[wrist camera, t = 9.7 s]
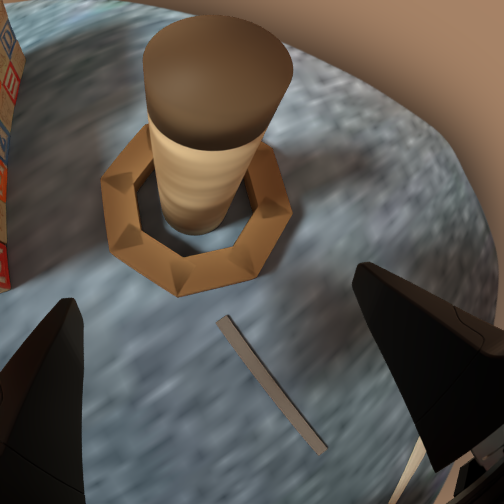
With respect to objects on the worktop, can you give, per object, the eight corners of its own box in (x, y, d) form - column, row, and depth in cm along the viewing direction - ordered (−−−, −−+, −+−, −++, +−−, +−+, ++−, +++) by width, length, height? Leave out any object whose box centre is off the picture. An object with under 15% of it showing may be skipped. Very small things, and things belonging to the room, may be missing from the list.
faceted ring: (298, 267, 20) (307, 264, 18) (126, 309, 17) (121, 309, 16) (254, 120, 21) (259, 109, 20) (101, 146, 18) (97, 135, 17)
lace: (324, 445, 18) (327, 448, 18) (315, 452, 18) (318, 455, 18) (225, 314, 19) (226, 315, 18) (214, 322, 19) (215, 322, 18)
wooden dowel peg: (240, 209, 20) (321, 77, 8) (188, 249, 19) (203, 140, 7) (200, 161, 20) (231, 4, 8) (148, 197, 19) (116, 47, 7)
